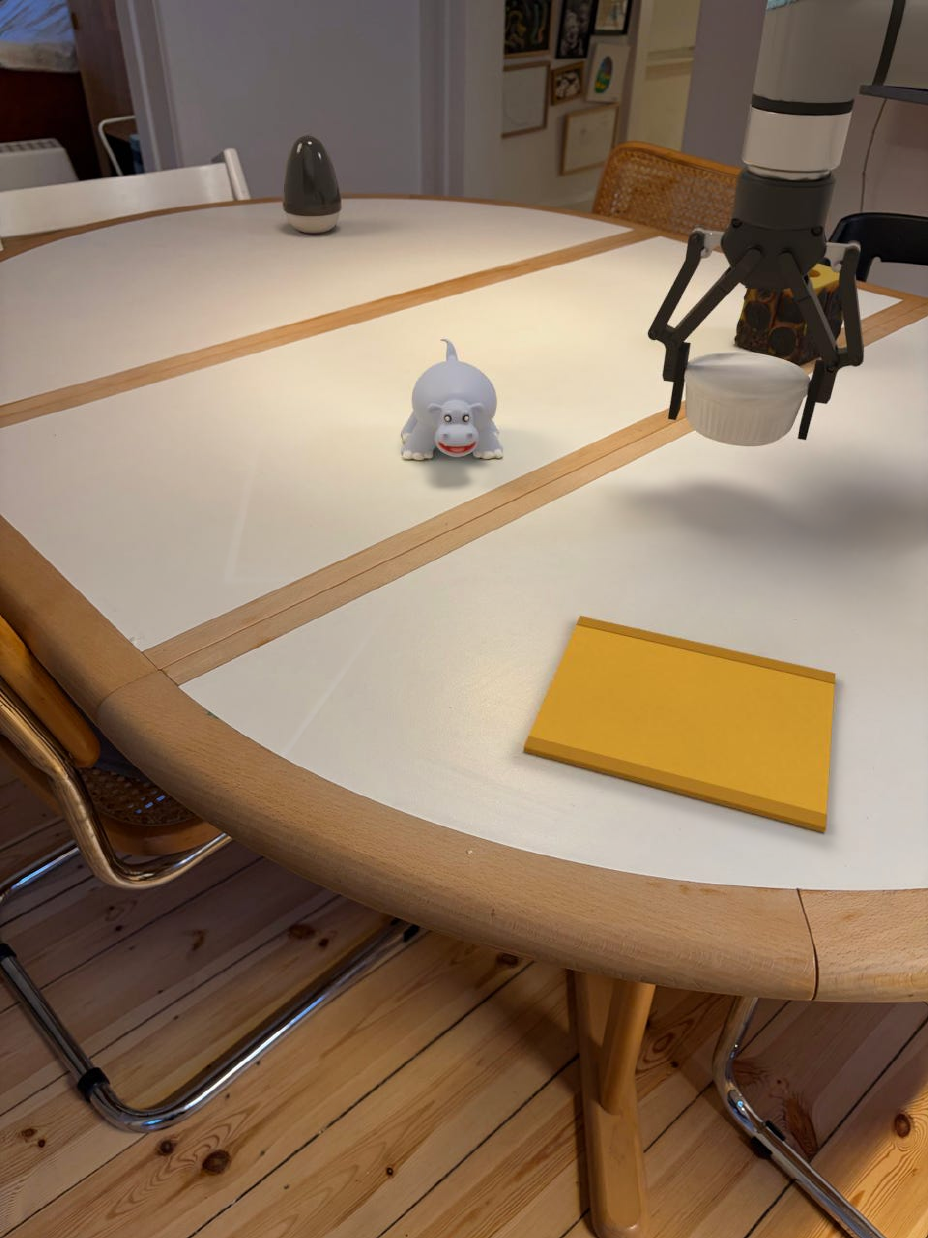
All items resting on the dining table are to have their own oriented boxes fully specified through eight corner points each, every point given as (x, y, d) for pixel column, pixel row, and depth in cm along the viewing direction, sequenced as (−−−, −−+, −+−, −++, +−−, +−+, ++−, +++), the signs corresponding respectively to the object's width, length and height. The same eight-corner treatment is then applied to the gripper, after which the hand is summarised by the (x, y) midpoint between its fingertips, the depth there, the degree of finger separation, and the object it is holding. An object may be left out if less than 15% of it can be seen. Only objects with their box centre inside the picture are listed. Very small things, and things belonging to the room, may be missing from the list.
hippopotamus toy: (403, 486, 93) (401, 397, 87) (400, 420, 105) (398, 337, 99) (510, 484, 94) (515, 396, 88) (495, 419, 106) (498, 337, 100)
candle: (796, 367, 120) (816, 289, 114) (730, 345, 126) (745, 269, 119) (837, 349, 125) (858, 273, 119) (772, 327, 131) (789, 254, 125)
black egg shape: (344, 221, 170) (339, 128, 161) (341, 237, 162) (336, 140, 152) (287, 221, 169) (279, 127, 160) (282, 237, 161) (273, 140, 152)
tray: (834, 678, 71) (835, 673, 71) (824, 833, 59) (826, 827, 59) (579, 620, 76) (580, 615, 76) (522, 751, 64) (523, 746, 64)
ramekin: (730, 391, 94) (740, 340, 90) (824, 432, 86) (838, 378, 83) (651, 419, 88) (658, 366, 85) (743, 465, 81) (755, 408, 78)
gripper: (945, 170, 74) (870, 426, 87) (649, 148, 80) (621, 389, 93) (951, 191, 68) (869, 461, 81) (632, 165, 74) (605, 420, 87)
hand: (737, 423), depth 87 cm, fingers closed on ramekin, 11 cm apart
